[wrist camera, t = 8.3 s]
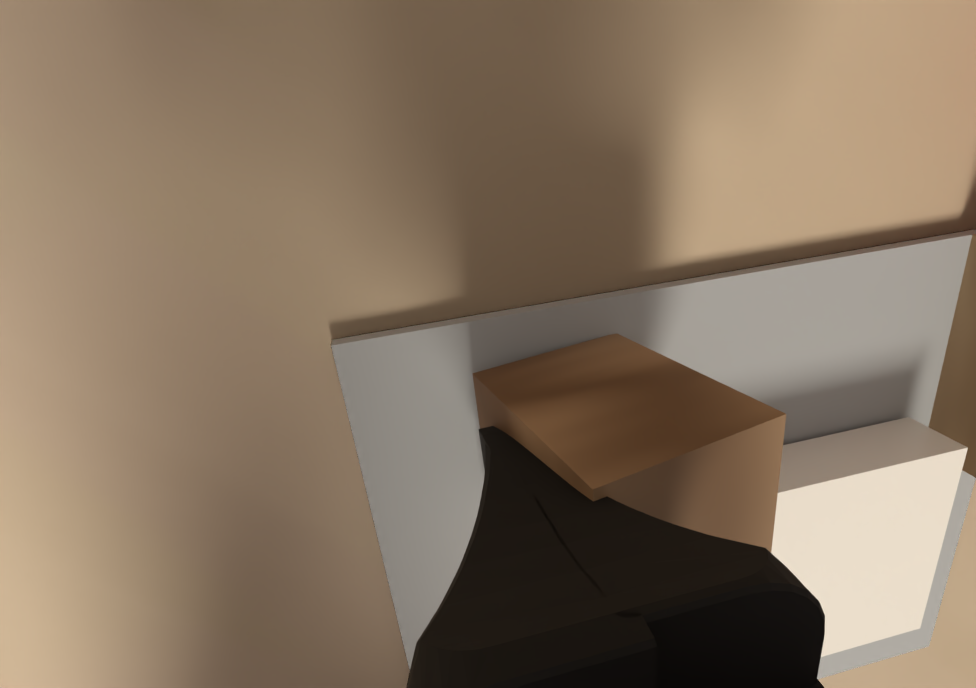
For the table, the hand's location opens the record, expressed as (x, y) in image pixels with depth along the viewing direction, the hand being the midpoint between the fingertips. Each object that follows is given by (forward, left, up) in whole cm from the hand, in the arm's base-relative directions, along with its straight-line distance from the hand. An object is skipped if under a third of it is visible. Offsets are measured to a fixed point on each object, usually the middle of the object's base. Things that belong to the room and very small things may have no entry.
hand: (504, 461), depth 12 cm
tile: (+6, -6, -1) cm, 9 cm away
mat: (+7, -6, -2) cm, 9 cm away
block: (+2, 0, -1) cm, 2 cm away
